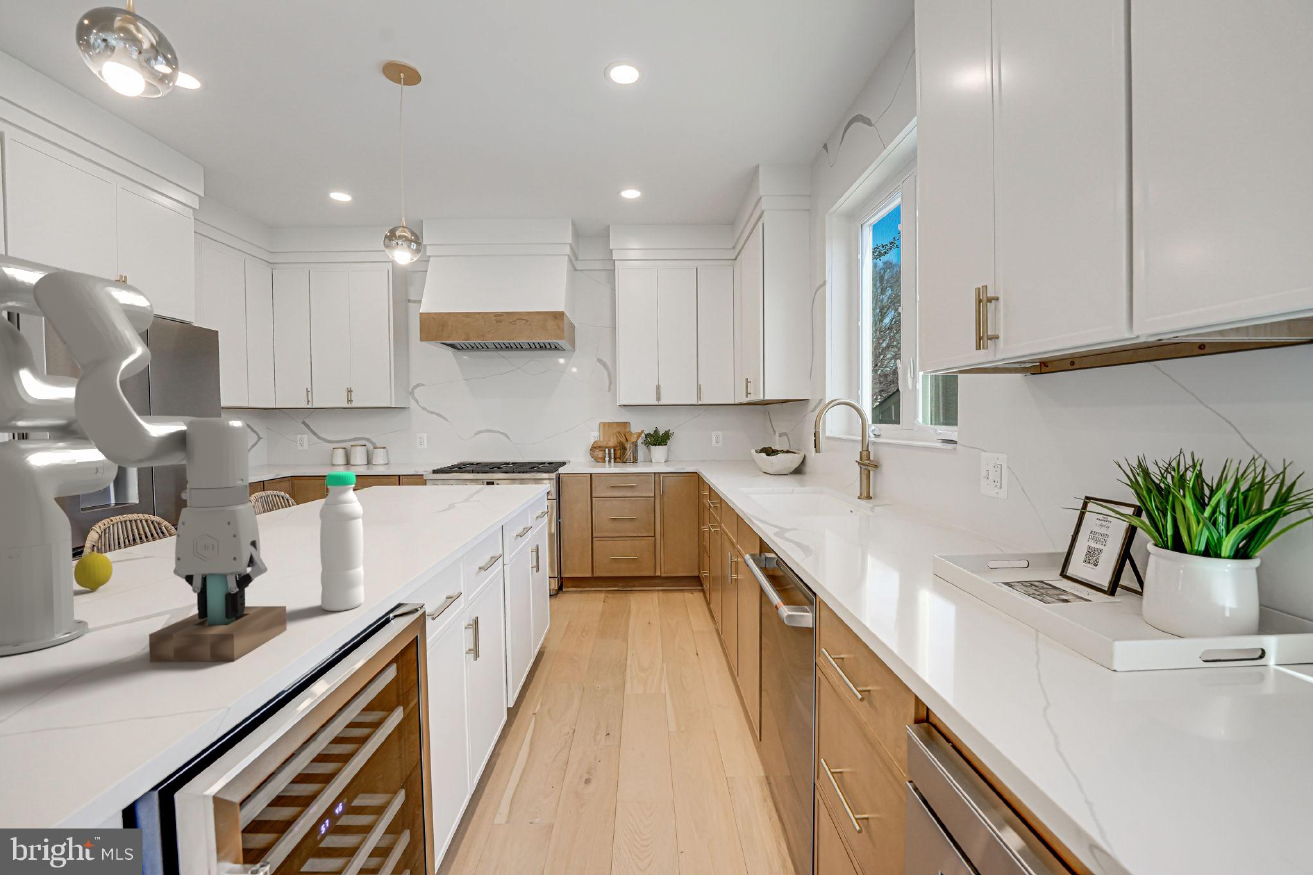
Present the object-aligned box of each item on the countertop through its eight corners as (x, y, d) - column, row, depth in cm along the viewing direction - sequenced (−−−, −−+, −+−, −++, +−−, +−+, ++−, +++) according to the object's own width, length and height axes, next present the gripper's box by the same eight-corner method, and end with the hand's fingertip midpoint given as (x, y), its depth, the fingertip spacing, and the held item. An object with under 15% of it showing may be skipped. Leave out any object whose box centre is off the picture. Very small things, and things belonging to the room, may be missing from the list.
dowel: (202, 633, 86) (200, 561, 86) (218, 625, 89) (217, 556, 89) (224, 633, 86) (223, 561, 86) (240, 625, 89) (239, 556, 89)
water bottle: (345, 613, 102) (343, 475, 101) (311, 610, 103) (309, 474, 102) (372, 601, 109) (370, 471, 108) (340, 598, 110) (338, 470, 109)
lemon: (117, 589, 116) (115, 550, 115) (79, 596, 111) (77, 556, 111) (108, 585, 119) (106, 547, 118) (70, 592, 114) (69, 552, 114)
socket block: (149, 661, 82) (149, 634, 82) (212, 630, 94) (212, 606, 94) (234, 661, 82) (233, 633, 82) (286, 629, 94) (286, 606, 94)
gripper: (142, 501, 83) (146, 625, 84) (257, 501, 84) (259, 624, 84) (183, 494, 91) (186, 608, 91) (288, 494, 91) (291, 607, 92)
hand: (221, 614), depth 88 cm, fingers closed on dowel, 3 cm apart
